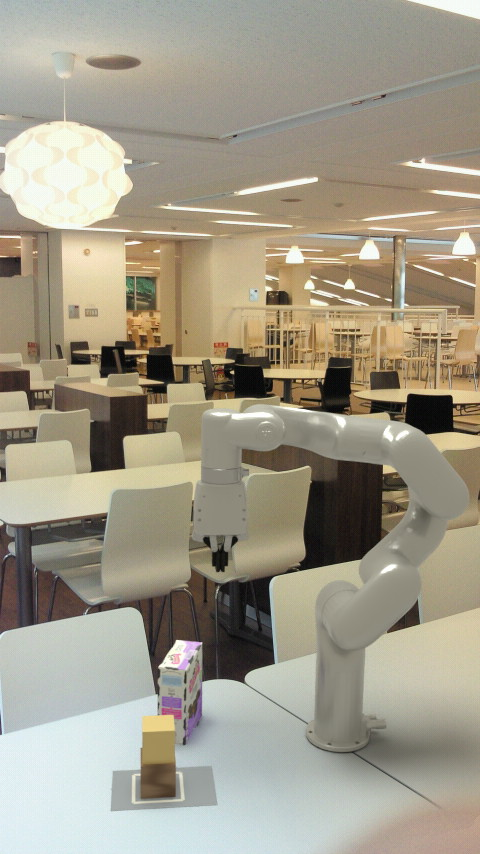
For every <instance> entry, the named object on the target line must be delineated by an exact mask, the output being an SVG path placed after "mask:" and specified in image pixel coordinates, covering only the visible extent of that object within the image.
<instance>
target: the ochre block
mask: <svg viewBox="0 0 480 854" xmlns="http://www.w3.org/2000/svg"><path fill="white" fill-rule="evenodd" d="M141 717H142V718H141V719H142V720H141V721H142V722H141V723H142V724H141V728H142V731H141V732H142V733H141V736H142V738H141V739H142V740H141V743H142V744H141V745H142V747H141V748H142V765H146V764H167V763H175V760H176V752H175V751H176V749H175V748H176V744H175V726H174V715H158V714H157V715H142V716H141Z"/></svg>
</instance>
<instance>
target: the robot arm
mask: <svg viewBox="0 0 480 854" xmlns="http://www.w3.org/2000/svg"><path fill="white" fill-rule="evenodd" d="M200 425H201V427H200V428H201V430H200V431H201V436H200V439H201V441H200V442H201V443H200V448H201V449H200V450H201V451H200V479H199V480H196V482H195V484H196V485H195V490H194V496H193V508H192V509H193V511H192V527H193V530H192V534H191V539H192V540H193V541H194V542H198V543H204V544H205V545H206V546H207V547H208V548H209V549H210V550H211V567H214V569H215V573H219V572H221V573H225V572H226V571H225V570H226V568H225V567H229V552H230V551H231V549H232V548H233V547H234V546H235V545H236V544H237V543H238V542H243V541H247V540H249V538H250V536H249V531H248V530H249V529H248V527H249V511H248V499H247V498H248V497H247V489H246V482H245V481H244V480H243V479H244V477H249V476H250V469H249V468H245V467H243V466H242V455H243V450H252V451H258V452H269V451H273V450H276V449H277V448H278V447H280V446H281V445H283V446H290V447H291V446H292V447H296V448H299V449H301V448H302V449H304V450H307V451H311V452H313V453H315V454H318V455H320V456H322V457H324V458H329V459H332V460H338V461H349V462H359V463H368V464H373V465H381V466H389V467H391V468H393V469H394V470H395V471H396V473H397V474H398V475H399V476H400V478H401V479H402V480H403V481H404V483H405V485H406V486H407V491H408V498H409V499H408V506H407V510H406V513H405V515H404V516H403V518H401V520H400V522H398V524H397V525H395V527H394V528H393V529H392V530H391V531H390V532H389V533H388V534H386V535H385V536H383V537H384V538H382V539H381V540H380V541H379V542H378V543H376V545H374V547H373V548H371V549H370V550H369V551H368V552H367V553H366V554H364V556H363V557H362V559H361V560H360V562H359V565H358V575H359V577H360V579H361V582H362V583H363V585H362V586H361V587H360V588H359V587H357V586H356V585H355V584H353V583H352V582H349V581H347V580H339V579H338V580H333V581H330V582H328V583H327V584H325V585H324V586H323V587H322V589H320V591H319V592H318V594H317V597H316V600H315V607H314V609H315V610H314V612H315V613H314V614H315V631H316V657H315V678H314V679H315V681H314V682H315V683H314V708H313V710H314V711H313V712H314V713H313V714H314V715H313V719H312V720H310V722H308V724H307V725H306V727H305V735H306V738H307V740H308V741H309V743H311V744H312V745H314V746H315V747H317V748H318V749H319V748H320V749H322V750H324V751H325V750H326V751H329V752H334V753H348V752H355V751H359V750H360V749H363V748H365V746H366V745H368V744H369V742H370V735H371V733H370V732H371V731H372V730H386V729H387V720H386V719H385V718H379V719H378V718H377V714H373V713H372V714H365V713H364V711H363V710H364V693H365V692H364V688H365V686H364V685H365V667H366V648H369V647H370V646H371V645H373V644H374V643H376V642H377V640H379V639H380V638H381V637H382V636H383V635H384V634H386V633H387V632H388V631H389V630H390V628H392V626H394V625H395V624H396V623H397V622H398V621H399V620H400V619H401V618H403V616H405V614H407V612H409V611H410V610H411V609H412V608H413V607H414V606H415V604H416V602H417V601H418V600H419V597H420V595H421V592H422V591H421V590H422V583H423V581H422V576H421V574H420V572H419V570H418V569H419V568H420V566H422V565H423V564H424V562H425V561H426V560H427V559H428V558H429V557H430V556H431V555H432V554H433V553H434V552H435V551H436V550H437V549H438V548H439V546H440V545H441V543H442V541H443V540H444V538H445V535H446V532H447V530H448V524H449V521H451V520H455V519H458V518H459V517H461V516H462V515H463V514H464V513H465V512H466V510H467V509H468V507H469V503H470V491H469V488H468V486H467V484H466V482H465V481H464V479H462V477H461V476H460V474H459V473H458V472H457V471H456V470H455V469H454V467H453V466H452V465H451V464H450V462H449V461H448V460H447V458H446V457H445V456H444V455H443V454H442V452H441V451H440V450H439V449H438V447H437V446H436V445H435V443H434V442H433V441H432V440H431V439H430V437H428V436H427V434H425V432H424V431H422V430H421V429H418V428H417V427H414V426H412V425H410V424H409V423H406V422H402V421H397V420H389V419H380V418H372V417H364V416H355V415H347V414H342V413H341V414H339V413H333V412H327V411H316V410H308V409H305V408H304V409H303V408H296V407H289V406H284V405H283V406H282V405H281V406H280V405H272V404H266V403H265V404H263V403H257V404H253V405H250V406H249V407H247V408H245V410H243V412H240V411H239V410H236V409H234V408H226V407H225V408H224V407H219V408H218V407H217V408H210V409H207V410H204V411H203V413H202V415H201V424H200ZM217 537H223V540H222V544H221V546H220V547H219V545H218V541H217Z"/></svg>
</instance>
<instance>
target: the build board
mask: <svg viewBox="0 0 480 854" xmlns="http://www.w3.org/2000/svg"><path fill="white" fill-rule="evenodd" d="M111 778H112V780H111V798H110V812H119V811H120V812H121V811H134V810H135V811H137V810H154V809H155V810H156V809H174V808H177V809H178V808H188V807H189V808H193V807H209V806H219V805H218V799H217V792H216V785H215V779H214V772H213V766H212V765H205V766H203V765H202V766H184V767H181V766H180V767H176V797H164V798H145V799H141V769H124V770H123V769H122V770H113V771H112V777H111Z"/></svg>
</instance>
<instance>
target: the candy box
mask: <svg viewBox="0 0 480 854" xmlns="http://www.w3.org/2000/svg"><path fill="white" fill-rule="evenodd" d="M157 715H174V726H175V745H178V746H185V745H186V744H187V743H188V741H189V739H190V737H191V735H192V733H193V731H194V729H196V728H197V727H196V726H198V725H197V724H199V723H198V722H200V721H199V720H201V719H200V718H202V717H203V642H202V641H201V642H199V641H191V640H181V639H179V640H178V639H176V640H175V642H174V644H173V645H172V647H171V648H170V650H169V651H168V652H167V654H166V655H165V657H164V658H163V660H162V662H161V663H160V664H159V666H157ZM201 716H202V717H201Z"/></svg>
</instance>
